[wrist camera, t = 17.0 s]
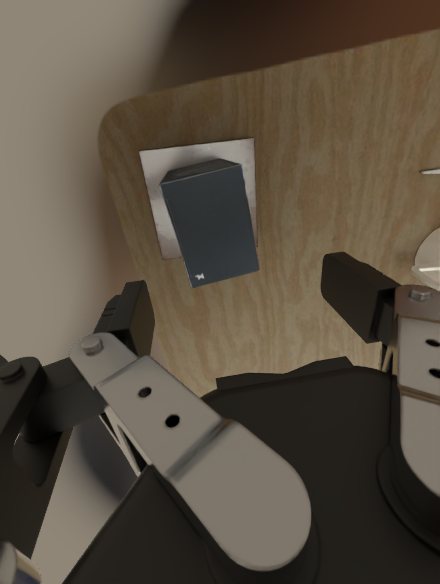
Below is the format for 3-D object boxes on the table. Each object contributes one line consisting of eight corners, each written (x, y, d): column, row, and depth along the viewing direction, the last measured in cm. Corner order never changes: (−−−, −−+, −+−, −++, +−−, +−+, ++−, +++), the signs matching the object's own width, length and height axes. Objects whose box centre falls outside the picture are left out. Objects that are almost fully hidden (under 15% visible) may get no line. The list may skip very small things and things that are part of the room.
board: (163, 255, 31) (162, 260, 30) (140, 150, 26) (138, 150, 25) (254, 242, 32) (257, 247, 31) (251, 137, 27) (254, 137, 25)
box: (236, 233, 30) (260, 272, 20) (187, 245, 30) (189, 290, 20) (222, 156, 26) (244, 161, 17) (165, 170, 26) (155, 183, 17)
